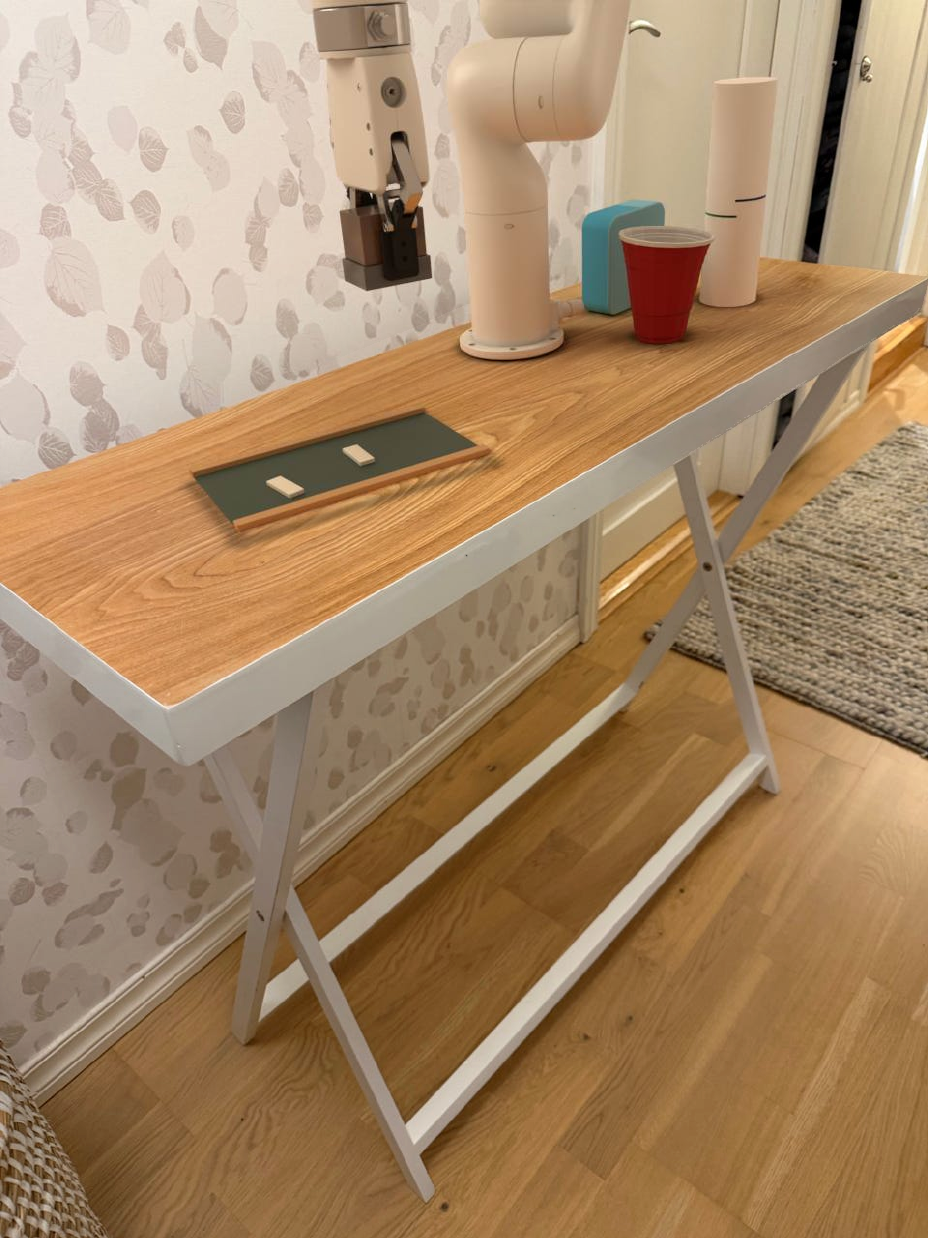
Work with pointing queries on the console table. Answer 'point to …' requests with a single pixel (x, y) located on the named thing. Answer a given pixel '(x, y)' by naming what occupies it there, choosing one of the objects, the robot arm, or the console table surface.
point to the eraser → (375, 248)
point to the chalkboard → (332, 465)
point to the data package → (611, 252)
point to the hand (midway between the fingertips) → (388, 270)
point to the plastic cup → (663, 278)
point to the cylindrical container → (737, 188)
